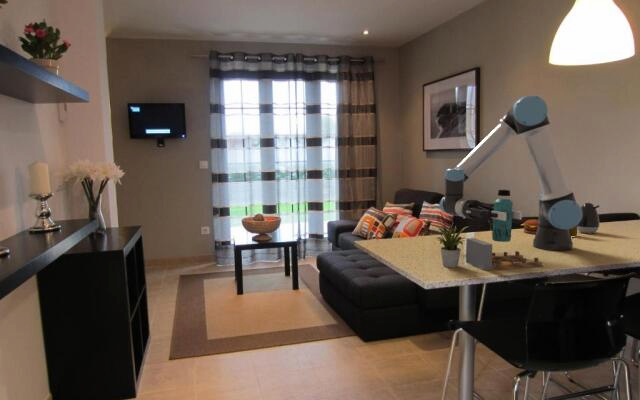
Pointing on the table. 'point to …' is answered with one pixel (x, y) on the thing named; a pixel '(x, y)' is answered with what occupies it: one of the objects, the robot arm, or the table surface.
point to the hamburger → (530, 226)
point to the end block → (479, 253)
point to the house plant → (450, 246)
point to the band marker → (503, 262)
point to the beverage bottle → (500, 227)
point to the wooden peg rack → (511, 259)
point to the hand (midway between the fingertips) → (513, 216)
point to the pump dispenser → (589, 219)
